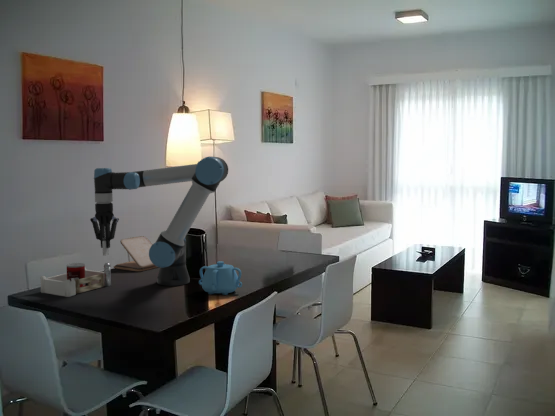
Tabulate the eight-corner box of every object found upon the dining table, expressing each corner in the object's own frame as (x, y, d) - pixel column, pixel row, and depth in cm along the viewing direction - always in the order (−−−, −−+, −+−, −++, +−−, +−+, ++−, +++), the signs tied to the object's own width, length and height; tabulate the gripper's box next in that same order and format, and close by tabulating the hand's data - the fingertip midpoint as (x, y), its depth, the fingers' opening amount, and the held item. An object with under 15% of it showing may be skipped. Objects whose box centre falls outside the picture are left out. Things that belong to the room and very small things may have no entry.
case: (140, 272, 284) (140, 241, 282) (110, 268, 294) (110, 238, 293) (166, 266, 301) (166, 237, 300) (138, 262, 312) (138, 234, 311)
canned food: (81, 285, 253) (80, 262, 252) (88, 289, 247) (87, 264, 246) (64, 288, 248) (63, 264, 247) (70, 291, 242) (70, 266, 241)
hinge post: (112, 285, 254) (111, 262, 253) (107, 286, 251) (107, 263, 250) (107, 284, 255) (107, 261, 254) (102, 286, 253) (102, 263, 252)
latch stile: (79, 292, 240) (78, 277, 240) (75, 293, 238) (74, 278, 238) (76, 291, 241) (75, 277, 241) (71, 293, 239) (71, 278, 239)
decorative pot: (231, 286, 253) (231, 257, 252) (244, 294, 238) (244, 263, 237) (197, 290, 246) (196, 260, 245) (208, 298, 231) (208, 266, 230)
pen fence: (110, 285, 254) (110, 270, 253) (67, 297, 232) (66, 280, 231) (84, 281, 262) (83, 267, 261) (39, 292, 240) (39, 276, 239)
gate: (101, 286, 251) (101, 273, 250) (103, 286, 250) (103, 274, 250) (75, 293, 238) (74, 280, 237) (77, 293, 237) (76, 280, 237)
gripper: (121, 202, 249) (123, 254, 251) (94, 202, 251) (96, 253, 253) (113, 203, 241) (115, 256, 243) (86, 203, 244) (88, 256, 246)
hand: (105, 255), depth 248 cm, fingers closed
